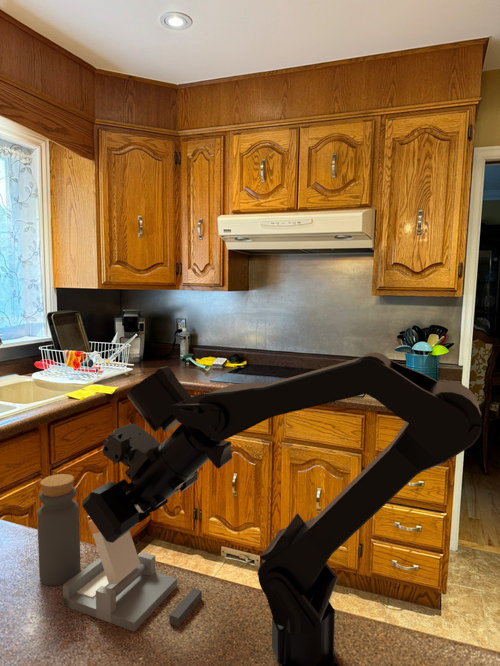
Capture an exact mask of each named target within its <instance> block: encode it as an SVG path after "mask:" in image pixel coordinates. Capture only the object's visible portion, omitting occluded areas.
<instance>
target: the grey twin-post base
mask: <svg viewBox="0 0 500 666" xmlns="http://www.w3.org/2000/svg"><path fill="white" fill-rule="evenodd" d="M137 555H138V558H139V561H140V564H144V565H145V568H146V570H145V571H144V572H143V573H142V574H141V575H140V576H139V577H138V578H137V579H135V580H134V581H133V582H132V583H131V584H130V585H129V586H128V587H127V588H125V589H124V590H123V591H122V592H121V593H120V594H119V595H118V596H117V597H116V590H113V589H112V588H113V587H114V586H115V585H117V584H118V583H117V584H111V585H109V583H108V580H107V577H106V574H105V571H104V568H103V565H102V562H101V559H100V557H98V558H97V559H95V560H94V561H93V562H92V563H90V564H89V565H88V566H86V567H85V568H84V569H82V570H80V573H78V574H77V575H76V576H74V577H73V578H72V579H70V580H69V581H68V582H66V583H65V584H62V599H63V600H62V602H63V603H62V605H63V606H64V607H66V608H68V609H72V610H74V611H77V612H78V613H79V612H80V613H82V614H85V615H88V616H90V617H93V618H95V619H99V620H100V621H101V620H102V621H104V622H107V623H110V624H113V625H114V626H118V627H121V628H124V629H126V630H129V631H131V632H136V630H138V628H140V626H141V625H142V624H143V623H144V622H145V621H146V620H147V619H148V618H149V617H150V616H151V615H152V614H153V613H154V612H155V610H156V609H157V608H158V607H159V606H160V605H161V604H162V603H163V602H164V601H165V600H166V599H167V598H168V596H169V595H171V594H172V593H173V592H174V590H175V589H176V588H178V578H176V577H173V576H170V575H167V574H164V573H160V572H156V554H155V555H154V554H151V553H148V552H144V551H142V552H140V553H139V554H137ZM140 564H139V565H140ZM139 565H138V566H139ZM131 572H132V571H131ZM124 578H125V577H124ZM124 578H123V579H124ZM164 599H165V600H164Z"/></svg>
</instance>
